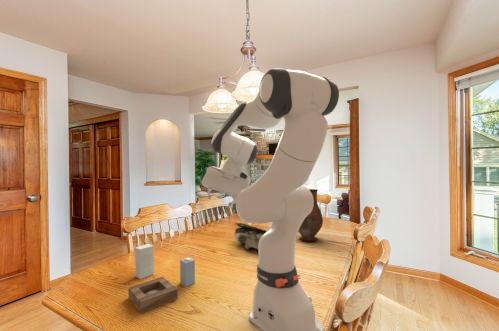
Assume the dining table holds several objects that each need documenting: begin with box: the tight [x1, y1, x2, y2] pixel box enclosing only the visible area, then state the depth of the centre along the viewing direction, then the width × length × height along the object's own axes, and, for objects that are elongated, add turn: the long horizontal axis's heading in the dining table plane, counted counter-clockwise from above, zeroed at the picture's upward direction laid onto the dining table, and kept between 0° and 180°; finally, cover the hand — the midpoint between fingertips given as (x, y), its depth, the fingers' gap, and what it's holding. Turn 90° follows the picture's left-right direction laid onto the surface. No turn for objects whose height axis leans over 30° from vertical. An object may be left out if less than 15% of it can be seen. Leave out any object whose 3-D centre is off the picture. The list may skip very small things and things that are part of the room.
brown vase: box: [298, 188, 324, 243], centre depth 146 cm, size 17×21×30 cm
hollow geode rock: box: [234, 222, 268, 250], centre depth 134 cm, size 28×13×15 cm
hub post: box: [179, 256, 196, 288], centre depth 95 cm, size 4×4×9 cm
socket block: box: [128, 276, 178, 314], centre depth 85 cm, size 12×12×4 cm
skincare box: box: [134, 243, 155, 280], centre depth 102 cm, size 6×4×12 cm
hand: (218, 203), depth 101 cm, fingers open, 8 cm apart
